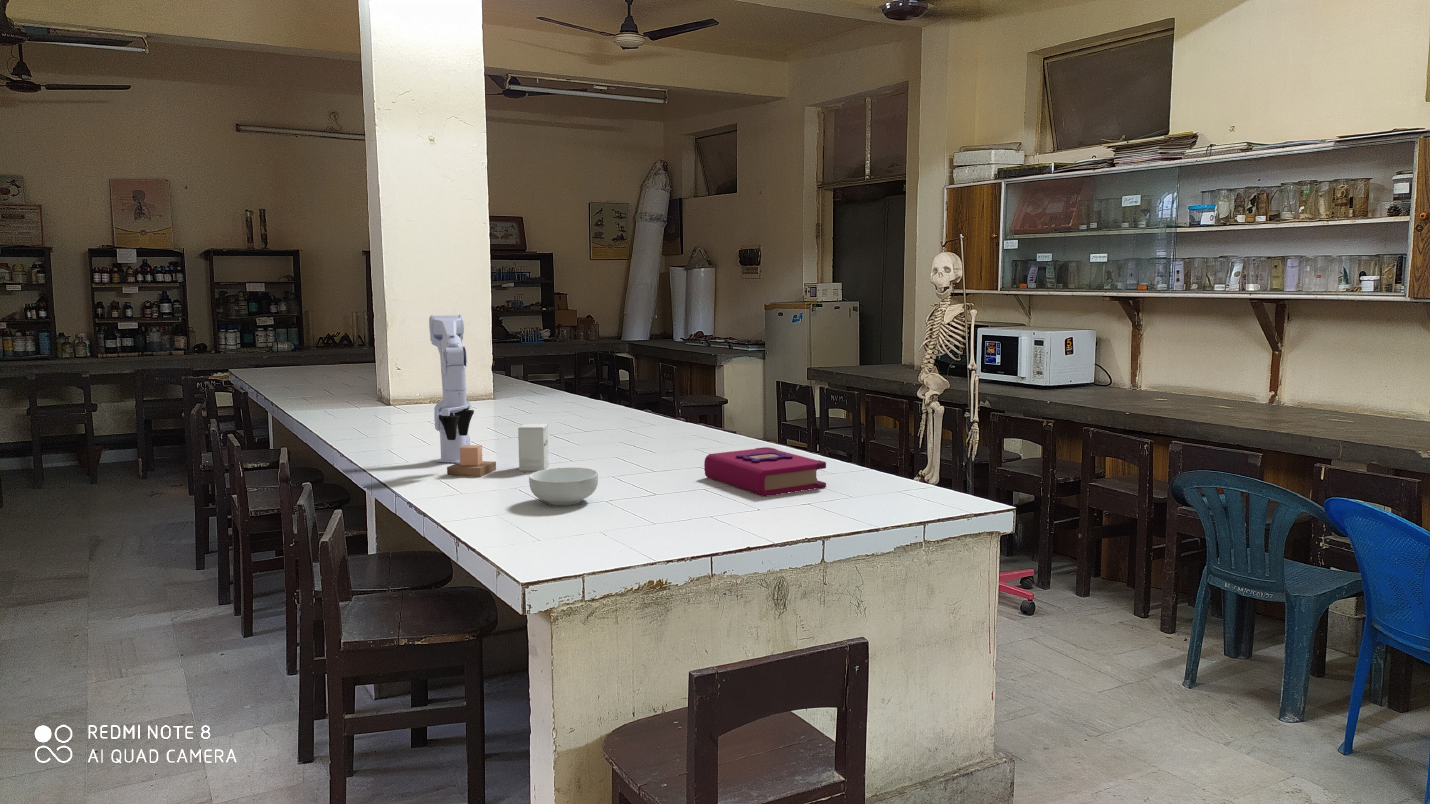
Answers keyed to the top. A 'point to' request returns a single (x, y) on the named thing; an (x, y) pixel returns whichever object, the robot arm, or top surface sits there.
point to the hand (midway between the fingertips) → (457, 437)
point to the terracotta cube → (470, 455)
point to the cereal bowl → (563, 485)
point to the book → (764, 470)
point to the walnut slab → (472, 469)
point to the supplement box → (533, 447)
